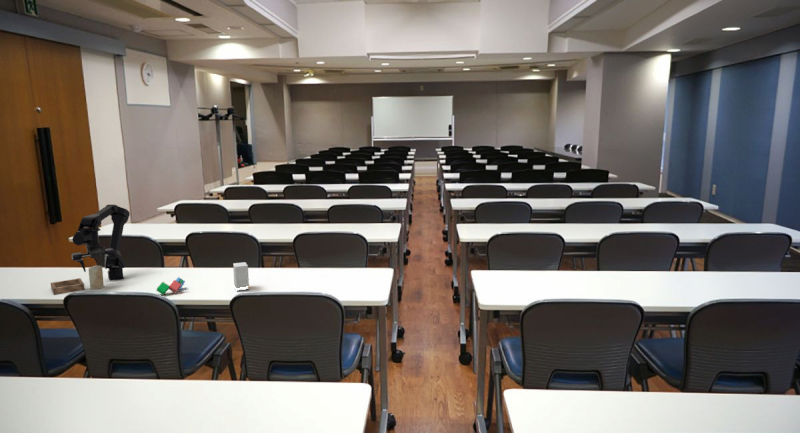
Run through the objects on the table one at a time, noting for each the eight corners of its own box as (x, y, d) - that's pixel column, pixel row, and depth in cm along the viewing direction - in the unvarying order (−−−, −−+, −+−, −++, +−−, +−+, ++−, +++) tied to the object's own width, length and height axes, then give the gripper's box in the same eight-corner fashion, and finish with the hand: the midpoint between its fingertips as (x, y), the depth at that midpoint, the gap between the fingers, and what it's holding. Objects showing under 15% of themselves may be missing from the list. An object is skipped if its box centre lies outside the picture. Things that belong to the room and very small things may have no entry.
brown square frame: (80, 283, 263) (80, 278, 263) (84, 289, 253) (84, 283, 253) (51, 288, 255) (50, 282, 254) (53, 294, 245) (53, 288, 245)
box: (98, 289, 254) (96, 268, 252) (89, 289, 254) (87, 268, 252) (104, 286, 259) (102, 265, 257) (96, 286, 259) (94, 265, 257)
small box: (249, 290, 253) (248, 265, 250) (236, 292, 250) (235, 267, 248) (246, 285, 260) (245, 261, 258) (234, 287, 257) (232, 263, 255)
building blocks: (169, 301, 249) (184, 283, 257) (171, 296, 243) (186, 277, 250) (155, 293, 248) (171, 275, 255) (157, 287, 242) (172, 269, 249)
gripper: (72, 246, 240) (76, 277, 243) (116, 241, 252) (119, 270, 255) (69, 242, 249) (73, 272, 251) (112, 237, 261) (114, 266, 263)
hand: (95, 270), depth 255 cm, fingers open, 9 cm apart
